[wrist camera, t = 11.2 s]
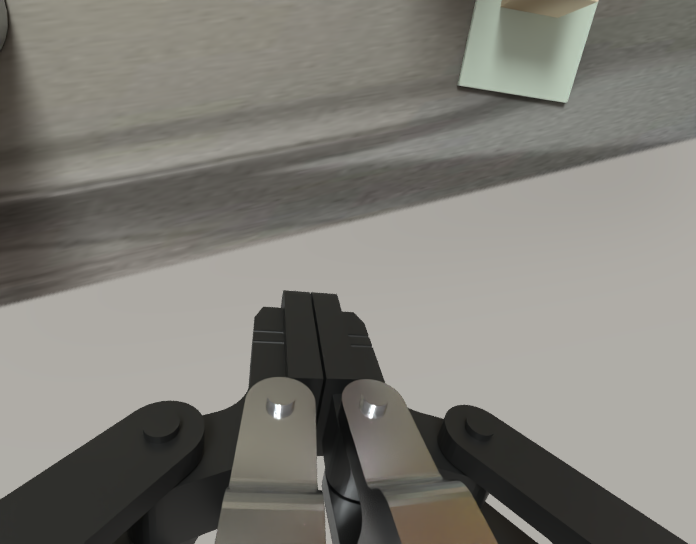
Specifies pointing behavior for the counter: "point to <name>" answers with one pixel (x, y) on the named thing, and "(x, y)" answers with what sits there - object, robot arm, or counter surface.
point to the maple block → (547, 6)
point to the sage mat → (524, 51)
